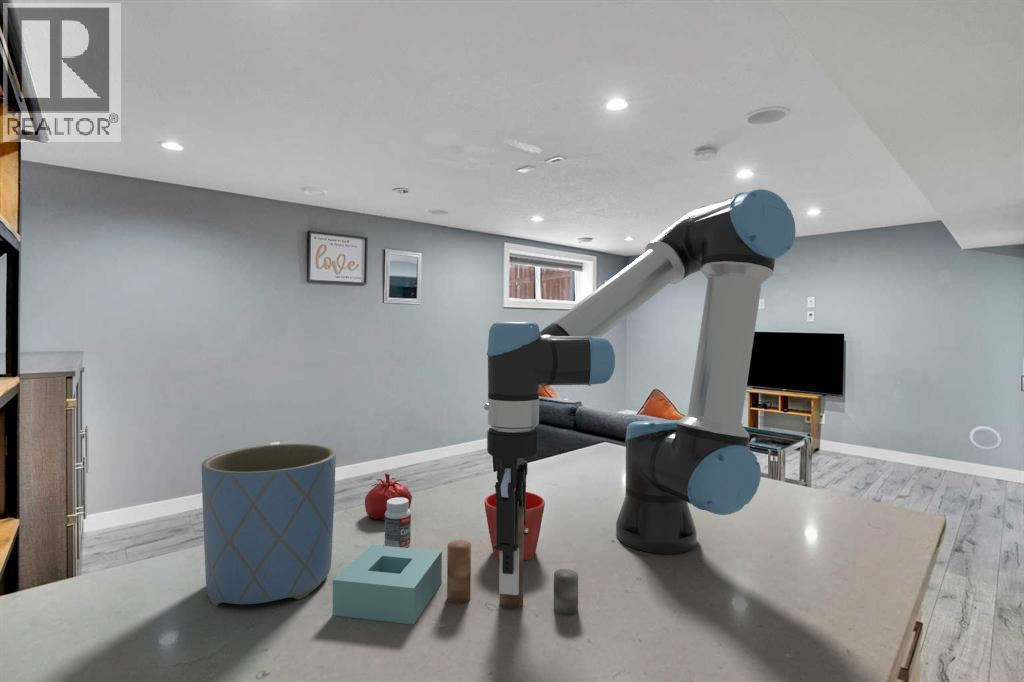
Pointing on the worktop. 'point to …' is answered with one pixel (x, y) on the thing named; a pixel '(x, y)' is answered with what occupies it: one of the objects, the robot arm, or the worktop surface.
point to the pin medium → (458, 571)
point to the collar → (388, 584)
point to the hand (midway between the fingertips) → (511, 585)
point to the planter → (267, 522)
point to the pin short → (566, 592)
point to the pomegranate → (384, 497)
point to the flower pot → (532, 523)
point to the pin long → (517, 600)
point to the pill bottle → (397, 523)
